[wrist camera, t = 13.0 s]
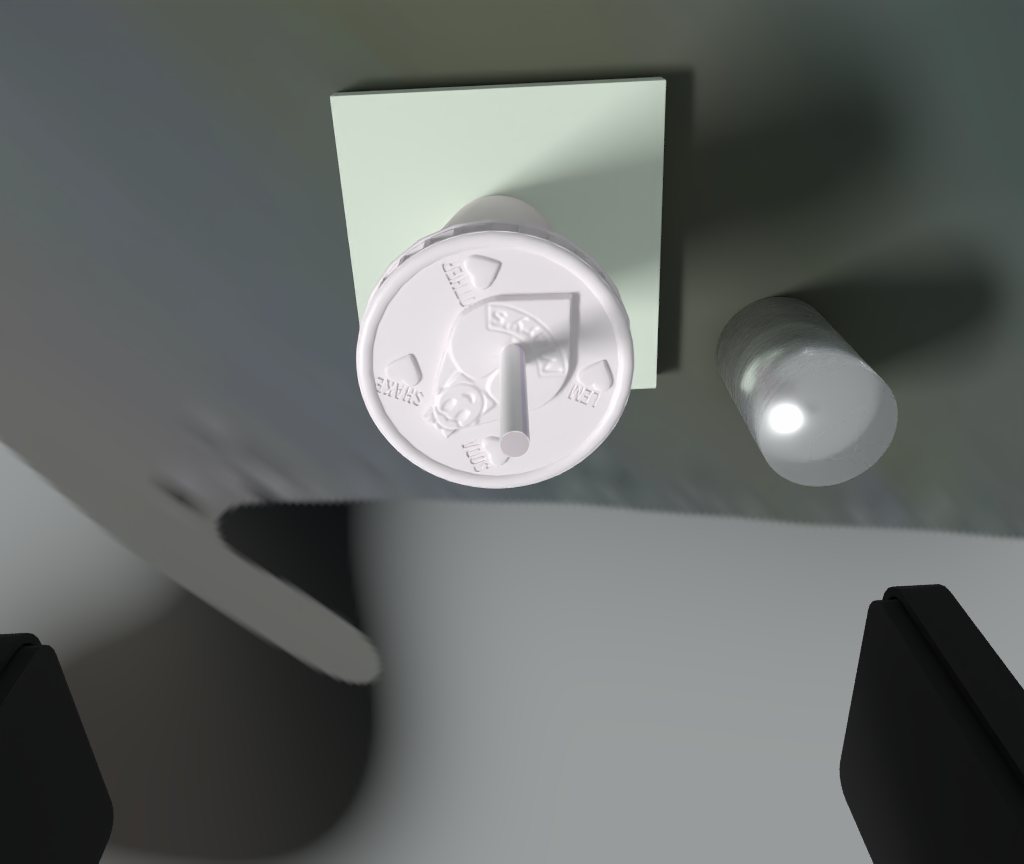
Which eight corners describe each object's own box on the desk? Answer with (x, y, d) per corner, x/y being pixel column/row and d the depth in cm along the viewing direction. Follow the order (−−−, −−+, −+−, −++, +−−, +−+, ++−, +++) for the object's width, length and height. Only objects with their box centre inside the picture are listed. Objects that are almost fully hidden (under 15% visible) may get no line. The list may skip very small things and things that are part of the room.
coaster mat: (373, 388, 32) (369, 400, 31) (335, 92, 27) (330, 96, 26) (651, 376, 31) (655, 387, 31) (660, 77, 27) (665, 80, 26)
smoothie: (638, 250, 28) (743, 459, 16) (501, 382, 30) (499, 658, 18) (494, 104, 26) (485, 213, 14) (357, 256, 28) (242, 469, 16)
